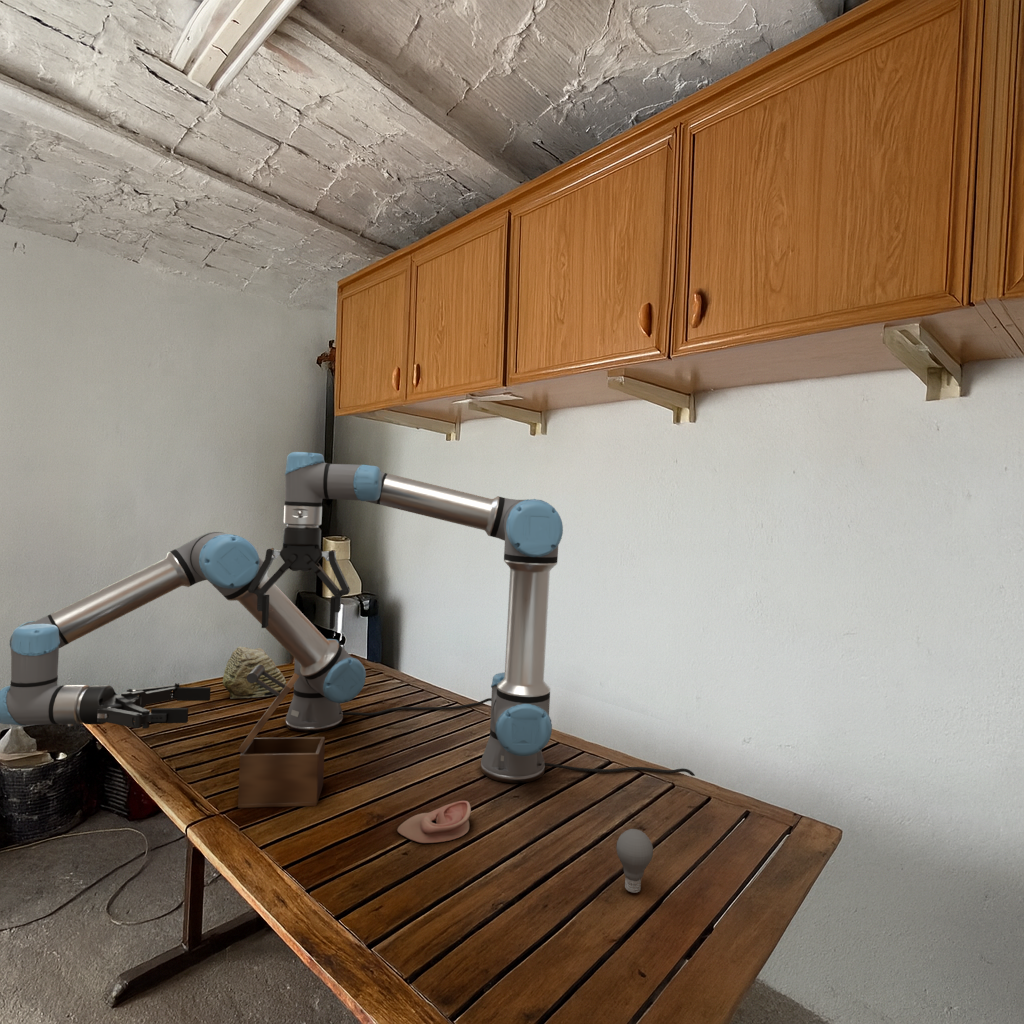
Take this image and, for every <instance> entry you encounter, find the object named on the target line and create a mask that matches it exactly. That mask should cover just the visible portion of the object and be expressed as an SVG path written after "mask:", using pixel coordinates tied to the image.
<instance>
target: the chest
mask: <svg viewBox="0 0 1024 1024" xmlns="http://www.w3.org/2000/svg"><path fill="white" fill-rule="evenodd" d="M325 746H326V737H325V736H298V737H297V736H295V737H294V736H293V737H292V736H291V737H288V736H287V737H285V736H284V737H255V738H254V739H253V740H252V742H251V743H250V744H249V746H248V747H247V748H246V750H245V751H244V752H243V754H242V753H241V752H240V755H239V765H238V766H239V770H238V771H239V772H238V792H237V793H238V795H237V796H238V798H237V808H238V809H245V808H246V809H249V808H250V809H251V808H281V807H283V808H284V807H287V808H288V807H316V806H318V803H319V800H320V796H321V793H322V789H323V787H324V775H325V773H324V772H325V751H326V747H325Z"/></svg>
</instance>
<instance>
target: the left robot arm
mask: <svg viewBox="0 0 1024 1024" xmlns="http://www.w3.org/2000/svg"><path fill="white" fill-rule="evenodd" d="M263 562H264V560H262V558H261V557H260V556H259V552H258V551H257V549H256V548H255V546H254V545H253V544H252V543H251V542H250V541H249V540H248V539H246V538H245V537H242V536H240V535H237V534H229V533H225V532H222V531H210V532H207V533H203V534H201V535H199V536H196V537H195V538H193V539H192V540H189V541H188V542H186V543H184V544H182V545H180V546H178V547H176V548H175V549H172V550H170V551H168V552H167V554H166V557H165V558H163V559H161V560H159V561H157V562H155V563H152V564H151V565H149V566H147V567H145V568H142V569H140V570H139V571H136V572H134V573H132V574H130V575H128V576H126V577H124V578H122V579H120V580H118V581H116V582H114V583H112V584H110V585H108V586H105V587H103V588H102V589H99V590H97V591H94V592H93V593H90V594H89V595H87V596H85V597H82V598H80V599H79V600H76V601H75V602H72V603H70V604H68V605H65V606H64V607H62V608H59V609H58V610H55V611H53V612H51V613H50V614H48V615H45V616H42V617H41V618H39V619H37V620H31V621H26V622H23V623H22V624H20V625H19V626H17V627H16V628H15V629H13V631H12V633H11V636H10V638H9V647H10V657H11V658H10V672H11V673H10V684H9V685H6V686H4V687H2V688H1V689H0V724H2V725H13V726H22V727H23V726H24V727H25V726H37V725H38V726H39V725H40V726H41V725H43V726H45V725H67V727H73V726H74V725H82V724H84V725H105V724H106V723H107V724H114V725H118V726H123V727H128V728H133V729H139V728H142V729H144V730H145V729H149V728H150V724H188V722H189V707H152V708H151V709H150V710H149V709H147V708H146V706H148V705H149V706H150V705H154V704H159V703H163V702H168V701H173V700H176V701H177V702H209V701H210V700H211V690H212V689H211V688H212V687H210V686H208V687H207V686H202V687H201V686H199V687H198V686H183V687H182V686H180V682H175V683H173V684H165V685H157V686H149V687H148V686H147V687H140V688H139V687H137V688H131V687H129V688H126V691H124V692H121V693H119V694H118V693H116V691H115V688H114V687H113V686H112V685H109V684H108V685H107V684H106V685H105V684H103V685H101V684H100V685H94V684H93V685H88V684H76V685H75V684H71V685H70V684H68V685H67V684H66V685H65V684H64V685H63V684H62V685H61V684H58V680H59V675H58V671H59V653H60V649H61V648H64V647H65V646H67V645H69V644H71V643H72V642H74V641H77V640H78V639H80V638H83V637H84V636H86V635H88V634H90V633H92V632H94V631H96V630H98V629H100V628H102V627H105V625H108V624H109V623H111V622H114V621H115V620H117V619H120V618H121V617H123V616H125V615H127V614H129V613H131V612H134V611H135V610H138V609H139V608H142V607H143V606H145V605H147V604H149V603H151V602H153V601H155V600H157V599H159V598H161V597H163V596H164V595H167V594H169V593H171V592H173V591H174V590H176V589H179V588H180V587H186V588H190V587H192V586H193V585H194V586H195V585H196V584H198V583H200V582H201V583H202V582H204V581H208V582H209V583H210V584H211V585H212V586H213V588H215V589H216V590H217V591H218V592H219V593H220V595H222V596H223V597H224V599H226V600H227V601H229V602H230V601H231V602H233V601H237V602H239V603H240V605H241V606H242V607H244V609H246V611H248V612H249V614H250V615H252V617H254V618H255V620H257V622H258V623H260V625H262V611H258V610H257V595H256V594H254V593H250V592H249V591H248V588H249V587H250V585H251V583H252V581H253V580H254V578H255V576H256V574H257V573H258V571H259V569H260V567H261V566H262V564H263ZM268 572H269V570H268V571H267V572H266V574H265V576H264V578H263V579H262V581H261V583H260V585H259V586H258V587H259V588H261V587H262V586H263V585H264V584H265V583H266V582H267V581H268V580H269V579H270V578H271V577H269V576H268ZM265 595H269V620H268V626H267V627H266V628H265V630H266V631H267V632H268V633H269V634H270V635H271V636H272V637H273V638H274V639H275V640H276V642H278V643H279V644H280V645H281V646H282V647H283V648H284V649H285V650H286V652H288V653H289V654H290V655H291V656H292V657H293V658H294V672H293V675H294V674H295V673H296V674H297V675H299V678H298V679H297V681H296V682H295V684H294V685H293V695H292V696H293V697H292V699H291V702H290V704H289V708H288V711H287V713H286V715H285V726H286V728H287V729H289V730H291V731H294V732H295V731H296V732H301V733H316V732H325V731H329V730H332V729H335V728H337V727H339V726H340V725H342V723H343V722H344V716H362V717H371V716H378V715H383V714H387V713H389V712H394V711H447V710H450V711H451V710H457V709H458V710H459V709H464V708H471V707H475V706H480V705H482V704H484V703H487V702H491V698H492V697H489V698H485V699H482V700H480V701H477V702H478V703H477V702H472V703H468V704H467V703H466V704H462V705H453V706H397V707H391V708H386V709H383V710H380V711H375V712H352V711H351V712H350V711H343V709H342V706H341V704H344V703H348V702H351V701H352V700H354V699H355V698H356V697H357V696H358V695H359V694H360V693H361V692H362V690H363V689H364V686H365V684H366V678H367V671H366V668H365V666H364V664H363V663H362V662H361V661H360V660H359V659H358V658H356V657H353V656H352V655H350V653H349V652H347V650H346V649H345V648H344V647H343V646H342V645H341V644H340V642H339V640H338V639H334V638H326V637H325V636H324V635H323V634H322V633H321V631H320V630H318V628H317V627H316V626H315V625H314V624H313V623H312V622H311V621H310V620H309V619H308V617H306V615H304V613H302V611H301V610H300V609H299V608H298V606H296V605H295V604H294V603H293V602H292V601H291V599H289V597H288V596H287V594H285V593H284V592H283V591H282V590H281V589H280V587H278V586H277V584H276V583H274V585H273V586H272V587H271V588H270V589H269V590H268V591H267V592H266V593H265Z"/></svg>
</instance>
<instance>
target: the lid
mask: <svg viewBox="0 0 1024 1024" xmlns="http://www.w3.org/2000/svg"><path fill="white" fill-rule="evenodd" d="M261 675H264V676H265V677H267V678H268V679H270V680H271V681H273V682H274V683H276V684H277V685H279V686H280V687H282V688H283V689H282V691H281V692H280V693H279V692H278V691H276V690H275V689H273V688H272V687H270V686H269V685H267V684H266V683H264V682H263V681H261V680H260V679H259V677H260V676H261ZM298 678H299V675H297V674H296V673H295V674H294V673H293V675H292V676H291V677H290V679H289V680H288V681H287V682H286V685H285V684H283V683H282V682H280V681H279V680H277V679H276V678H274V677H273V676H271V675H270V674H268V673H267V672H265V667H264V666H263V665H257V666H256V667H255V668H254V669H253V670H252V671H251V672H250V673H249V674H248V676H247V681H248V682H249V683H255V682H256V683H258V684H259V685H261V686H262V687H264V688H265V689H267V690H268V691H270V692H271V693H273V694H274V695H273V696H276V698H275V699H274V700H273V702H271V704H270V706H269V707H268V708H267V709H266V711H265V712H264V713H263V715H262V716H261V717H260V719H259V720H258V721H257V723H256V724H255V726H254V727H253V728H252V729H251V731H250V732H249V733H248V735H247V736H246V738H245V739H244V741H243V742H242V743H241V745H240V746H239V748H238V749H237V751H238V752H239V753H240V754H241V753H242V754H243V752H244V751H245V750H246V748H247V747H248V746H249V744H250V743H251V742H252V740H253V739H254V738H256V737H257V735H258V734H259V733H260V731H261V730H262V729H263V727H264V726H265V724H266V723H267V722H268V720H269V719H270V718H271V717H272V715H273V714H274V712H275V711H276V710H277V708H278V707H279V706H280V705H281V703H282V702H283V700H284V699H285V698H286V696H287V695H288V694H289V693H290V691H291V690H292V688H294V684H295V682H296V681H297V679H298Z"/></svg>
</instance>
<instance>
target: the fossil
mask: <svg viewBox="0 0 1024 1024" xmlns="http://www.w3.org/2000/svg"><path fill="white" fill-rule="evenodd" d="M257 665H263V666H264V667H265V672H267V673H268V674H270V675H271V676H273V677H274V678H276V679H277V680H279V681H280V682H282V683H283V684H285V685H286V684H287V680H286V678H285V676H284V674H283V673H282V672H281V669H279V668H278V667H277V665H276V663H275V662H274V660H273V659H272V658H271V657H270V656H269V655H268V654H267V653H266V652H265V650H264V649H263V648H260V647H258V648H251V647H247V646H246V647H245V646H238V647H237V648H236V649H235V650H233V651H232V653H231V656H230V657H229V659H228V660H227V663H226V666H225V668H224V671H223V675H222V676H223V677H222V685H223V687H224V688H225V690H226V691H228V693H229V698H230V699H250V698H264V697H271V696H275V695H274V694H273V693H271V692H270V691H268V690H267V689H265V688H264V687H262V686H261V685H259V684H258V683H256V682H255V683H249V682H248V681H247V676H248V674H249V673H250V672H251V671H252V670H253V669H254V668H255V667H256V666H257ZM259 679H260V680H261V681H263V682H264V683H266V684H267V685H269V686H270V687H272V688H273V689H275V690H276V691H278V692H279V693H280V692H281V691H282V689H283V688H282V687H280V686H279V685H277V684H276V683H274V682H273V681H271V680H270V679H268V678H267V677H265V676H264V675H261V676H260V677H259Z"/></svg>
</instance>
